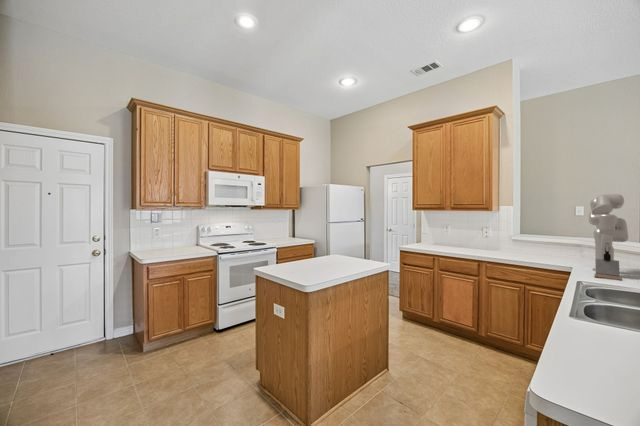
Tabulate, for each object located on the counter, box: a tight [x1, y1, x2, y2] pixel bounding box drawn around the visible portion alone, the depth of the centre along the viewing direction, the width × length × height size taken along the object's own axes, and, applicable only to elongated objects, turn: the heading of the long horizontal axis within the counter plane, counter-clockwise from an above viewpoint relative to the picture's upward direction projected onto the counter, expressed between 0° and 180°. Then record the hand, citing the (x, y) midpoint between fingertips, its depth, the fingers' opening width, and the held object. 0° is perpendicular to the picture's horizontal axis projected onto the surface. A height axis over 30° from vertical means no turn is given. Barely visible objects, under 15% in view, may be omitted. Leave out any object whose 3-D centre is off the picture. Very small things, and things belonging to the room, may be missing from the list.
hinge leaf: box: [595, 259, 621, 277], centre depth 187 cm, size 13×11×2 cm
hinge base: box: [594, 273, 623, 282], centre depth 181 cm, size 13×12×2 cm
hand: (607, 260), depth 189 cm, fingers closed
